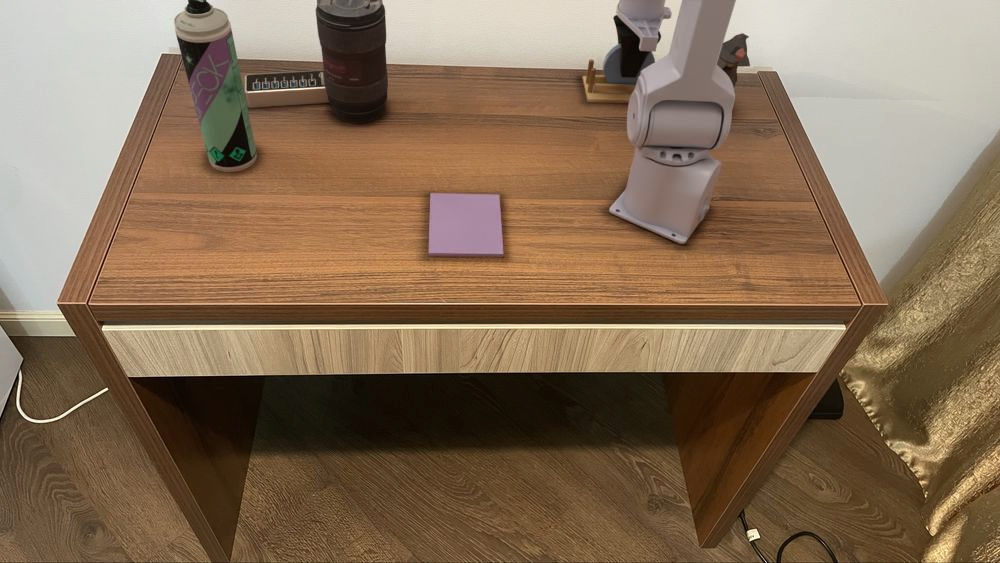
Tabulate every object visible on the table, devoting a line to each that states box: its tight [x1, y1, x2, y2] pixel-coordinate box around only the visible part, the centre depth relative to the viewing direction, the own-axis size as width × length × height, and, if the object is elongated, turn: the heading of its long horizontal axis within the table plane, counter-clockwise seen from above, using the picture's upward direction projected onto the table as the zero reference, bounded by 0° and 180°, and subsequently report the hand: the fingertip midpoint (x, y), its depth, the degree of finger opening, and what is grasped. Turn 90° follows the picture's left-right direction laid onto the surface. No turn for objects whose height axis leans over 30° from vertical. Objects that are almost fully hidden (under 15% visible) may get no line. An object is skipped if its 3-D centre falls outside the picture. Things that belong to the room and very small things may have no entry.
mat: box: [428, 192, 505, 258], centre depth 84 cm, size 10×8×1 cm
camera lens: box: [315, 0, 389, 124], centre depth 93 cm, size 8×8×15 cm
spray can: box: [173, 0, 258, 173], centre depth 83 cm, size 6×6×20 cm
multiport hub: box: [244, 69, 330, 109], centre depth 99 cm, size 4×11×2 cm, turn 103°
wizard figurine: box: [717, 32, 751, 89], centre depth 99 cm, size 8×6×12 cm
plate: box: [602, 43, 656, 84], centre depth 103 cm, size 7×1×7 cm, turn 93°
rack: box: [581, 59, 636, 104], centre depth 104 cm, size 11×6×4 cm, turn 93°
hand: (627, 73), depth 104 cm, fingers closed on plate, 1 cm apart
